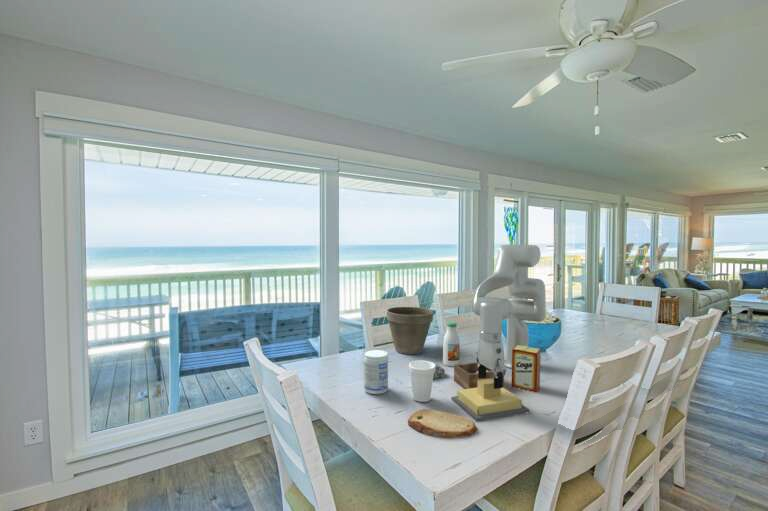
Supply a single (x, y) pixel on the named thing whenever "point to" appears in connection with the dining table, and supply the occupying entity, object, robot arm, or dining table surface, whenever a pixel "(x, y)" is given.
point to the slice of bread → (441, 424)
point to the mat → (489, 415)
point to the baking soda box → (526, 368)
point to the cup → (422, 379)
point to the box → (470, 375)
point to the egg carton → (439, 372)
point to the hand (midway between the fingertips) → (489, 382)
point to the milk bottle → (451, 345)
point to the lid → (488, 398)
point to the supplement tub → (376, 372)
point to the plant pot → (409, 328)
